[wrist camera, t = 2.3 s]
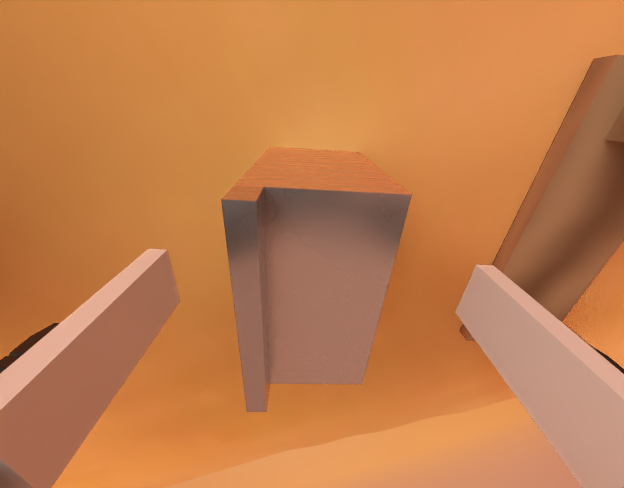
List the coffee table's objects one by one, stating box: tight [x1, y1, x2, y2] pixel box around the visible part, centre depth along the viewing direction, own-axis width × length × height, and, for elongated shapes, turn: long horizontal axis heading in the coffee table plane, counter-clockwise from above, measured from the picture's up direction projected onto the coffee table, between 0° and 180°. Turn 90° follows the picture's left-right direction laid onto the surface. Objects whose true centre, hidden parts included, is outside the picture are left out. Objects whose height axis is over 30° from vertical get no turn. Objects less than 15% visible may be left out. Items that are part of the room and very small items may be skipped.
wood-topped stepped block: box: [221, 147, 412, 412], centre depth 12 cm, size 5×9×9 cm, turn 177°
